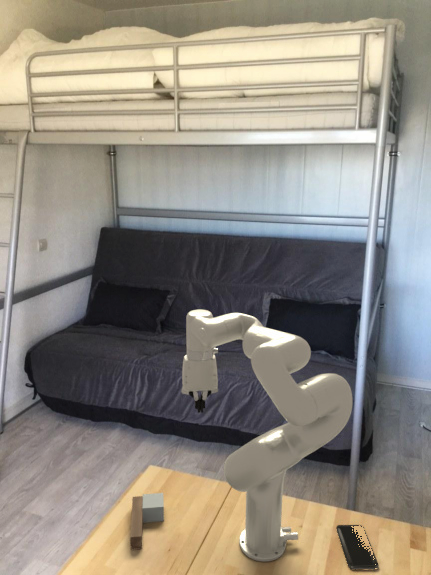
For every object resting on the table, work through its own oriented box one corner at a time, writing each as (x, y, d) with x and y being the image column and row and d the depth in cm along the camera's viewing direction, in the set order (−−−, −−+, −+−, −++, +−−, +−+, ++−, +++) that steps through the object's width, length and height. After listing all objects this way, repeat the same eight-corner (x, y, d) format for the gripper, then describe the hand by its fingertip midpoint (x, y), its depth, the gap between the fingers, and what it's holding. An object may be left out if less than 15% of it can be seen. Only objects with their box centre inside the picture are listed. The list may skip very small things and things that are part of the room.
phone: (349, 567, 127) (335, 524, 141) (349, 571, 127) (335, 528, 141) (380, 567, 127) (363, 524, 141) (379, 571, 127) (362, 528, 141)
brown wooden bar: (143, 507, 149) (142, 496, 148) (142, 548, 133) (141, 536, 132) (133, 508, 148) (132, 496, 147) (130, 549, 133) (130, 537, 132)
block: (163, 506, 149) (163, 492, 148) (164, 521, 143) (163, 506, 142) (143, 508, 148) (142, 494, 147) (143, 523, 143) (142, 508, 141)
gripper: (224, 346, 146) (223, 402, 151) (173, 348, 144) (174, 405, 149) (227, 357, 139) (226, 415, 144) (174, 359, 137) (175, 418, 142)
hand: (200, 410), depth 147 cm, fingers closed
